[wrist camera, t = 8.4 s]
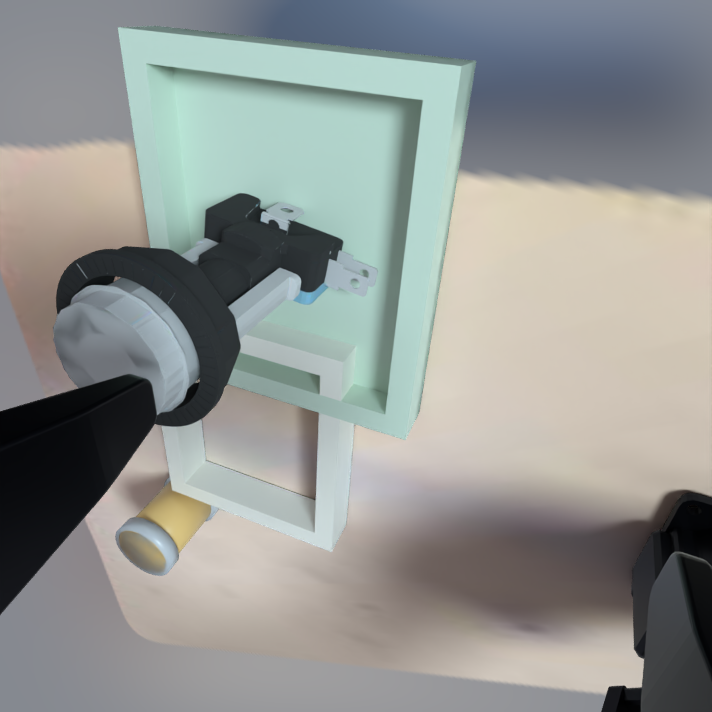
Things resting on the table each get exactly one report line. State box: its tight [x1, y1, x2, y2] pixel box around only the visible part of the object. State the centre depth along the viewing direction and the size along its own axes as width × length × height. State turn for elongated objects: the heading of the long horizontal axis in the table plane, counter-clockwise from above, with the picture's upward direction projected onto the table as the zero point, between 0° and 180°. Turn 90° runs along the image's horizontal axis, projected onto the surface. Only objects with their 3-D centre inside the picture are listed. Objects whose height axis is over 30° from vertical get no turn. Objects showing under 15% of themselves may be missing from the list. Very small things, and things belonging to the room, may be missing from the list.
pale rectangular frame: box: [161, 320, 356, 552], centre depth 28 cm, size 10×12×2 cm
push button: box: [53, 193, 378, 427], centre depth 18 cm, size 7×5×10 cm
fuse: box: [115, 477, 219, 576], centre depth 33 cm, size 4×4×5 cm
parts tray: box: [118, 26, 476, 440], centre depth 22 cm, size 12×14×2 cm
